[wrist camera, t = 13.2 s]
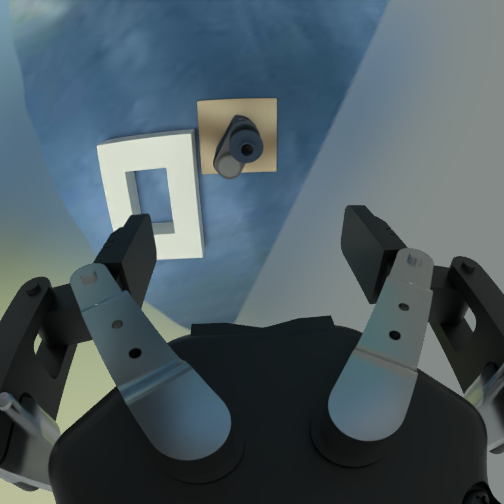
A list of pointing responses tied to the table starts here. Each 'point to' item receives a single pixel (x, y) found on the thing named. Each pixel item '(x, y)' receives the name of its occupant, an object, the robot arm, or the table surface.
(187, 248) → the white cutout frame
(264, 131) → the tan rectangular block
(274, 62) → the table surface
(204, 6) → the table surface
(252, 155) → the vaping device
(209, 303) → the table surface
